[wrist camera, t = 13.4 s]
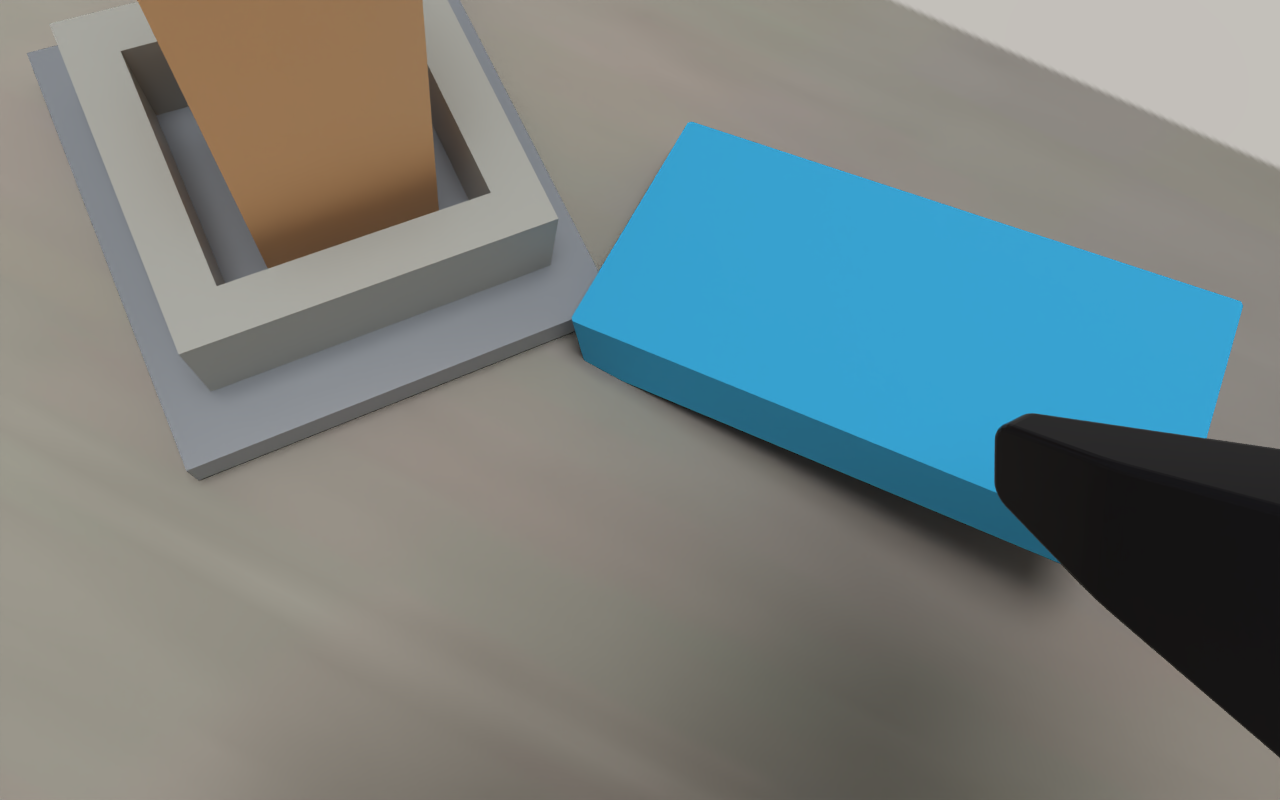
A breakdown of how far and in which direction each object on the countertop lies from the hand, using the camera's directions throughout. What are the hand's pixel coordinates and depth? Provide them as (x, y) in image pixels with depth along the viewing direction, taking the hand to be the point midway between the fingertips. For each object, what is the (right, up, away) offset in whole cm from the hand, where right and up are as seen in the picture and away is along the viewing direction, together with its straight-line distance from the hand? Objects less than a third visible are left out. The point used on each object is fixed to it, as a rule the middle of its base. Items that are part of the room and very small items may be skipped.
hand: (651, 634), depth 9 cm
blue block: (+8, +2, +17) cm, 19 cm away
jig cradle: (-8, +8, +15) cm, 19 cm away
